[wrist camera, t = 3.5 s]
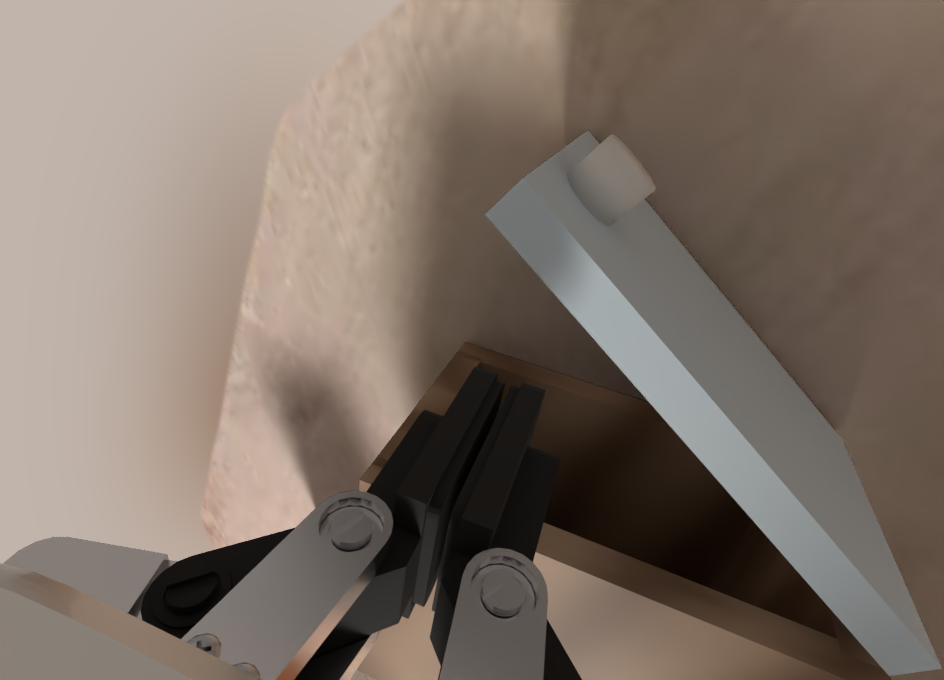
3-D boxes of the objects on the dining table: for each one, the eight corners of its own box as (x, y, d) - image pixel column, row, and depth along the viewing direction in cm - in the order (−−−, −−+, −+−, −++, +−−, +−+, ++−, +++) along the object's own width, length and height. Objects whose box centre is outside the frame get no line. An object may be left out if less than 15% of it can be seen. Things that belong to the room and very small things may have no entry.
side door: (880, 425, 20) (1011, 659, 12) (812, 451, 21) (889, 676, 13) (619, 100, 18) (573, 128, 10) (563, 153, 19) (484, 214, 11)
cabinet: (814, 457, 22) (898, 701, 13) (703, 615, 28) (713, 848, 20) (465, 342, 25) (359, 479, 17) (435, 506, 31) (348, 665, 23)
